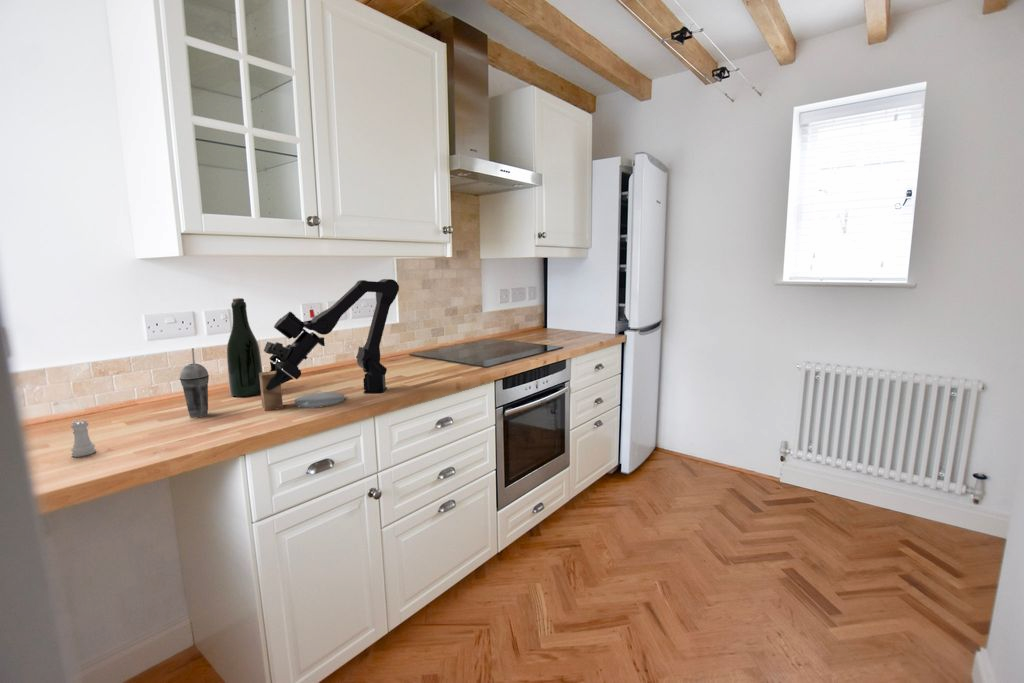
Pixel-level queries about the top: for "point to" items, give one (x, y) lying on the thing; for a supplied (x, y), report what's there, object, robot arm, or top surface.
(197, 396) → the beverage cup
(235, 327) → the beer bottle
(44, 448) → the top surface
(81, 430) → the rook chess piece
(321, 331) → the robot arm
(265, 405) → the walnut block
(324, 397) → the slate dish
